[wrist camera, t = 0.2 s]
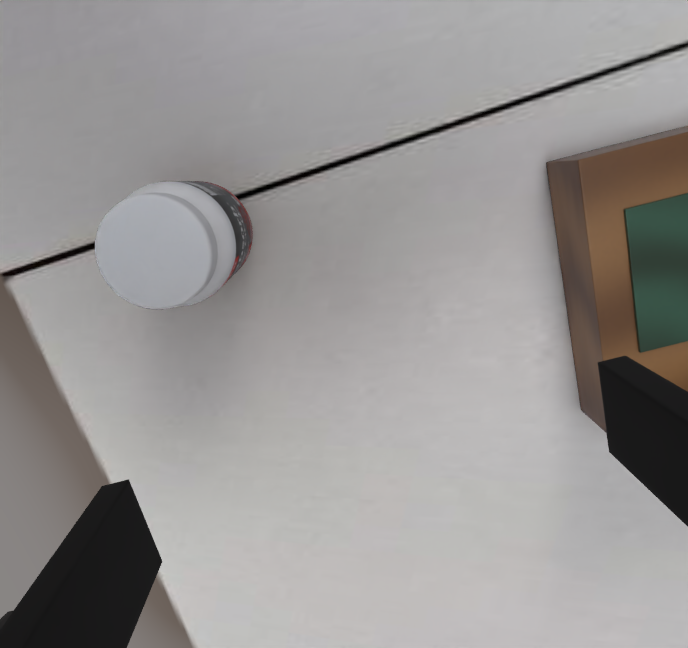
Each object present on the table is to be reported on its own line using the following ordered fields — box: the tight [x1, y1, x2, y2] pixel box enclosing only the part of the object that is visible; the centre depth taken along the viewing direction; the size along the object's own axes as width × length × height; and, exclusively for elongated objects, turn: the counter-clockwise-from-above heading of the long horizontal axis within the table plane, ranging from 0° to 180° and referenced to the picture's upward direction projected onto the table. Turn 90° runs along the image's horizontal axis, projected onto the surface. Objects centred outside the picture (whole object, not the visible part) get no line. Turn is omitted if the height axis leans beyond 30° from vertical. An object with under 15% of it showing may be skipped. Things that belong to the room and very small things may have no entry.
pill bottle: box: [95, 181, 253, 310], centre depth 26 cm, size 6×6×10 cm
